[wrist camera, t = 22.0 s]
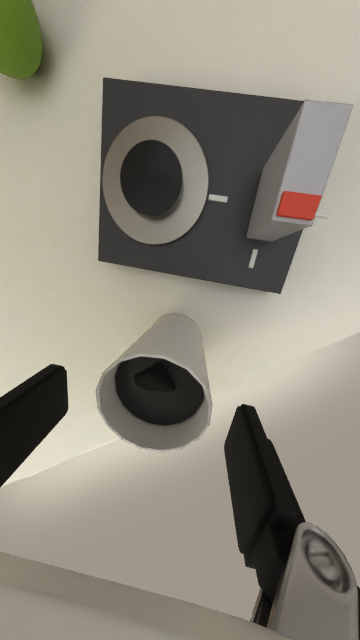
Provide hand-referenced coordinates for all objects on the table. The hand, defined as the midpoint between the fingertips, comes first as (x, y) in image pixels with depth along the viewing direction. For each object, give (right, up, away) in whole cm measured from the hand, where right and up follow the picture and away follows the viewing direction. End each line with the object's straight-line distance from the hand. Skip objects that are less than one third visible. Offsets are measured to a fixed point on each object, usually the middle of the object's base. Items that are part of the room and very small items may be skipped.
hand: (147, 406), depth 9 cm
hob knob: (+8, +13, +3) cm, 16 cm away
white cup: (+1, +3, +10) cm, 11 cm away
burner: (0, +15, +4) cm, 15 cm away
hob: (+4, +15, +6) cm, 16 cm away
